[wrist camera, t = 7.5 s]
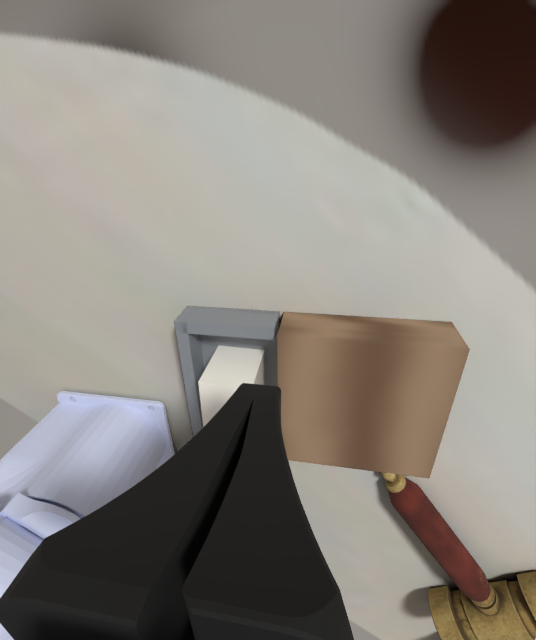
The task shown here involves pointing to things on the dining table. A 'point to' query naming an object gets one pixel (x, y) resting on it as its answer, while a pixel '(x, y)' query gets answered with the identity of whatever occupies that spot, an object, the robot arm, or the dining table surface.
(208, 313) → the tray
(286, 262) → the dining table surface
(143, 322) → the dining table surface
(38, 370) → the dining table surface
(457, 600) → the gavel
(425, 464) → the board
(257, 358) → the tile block
